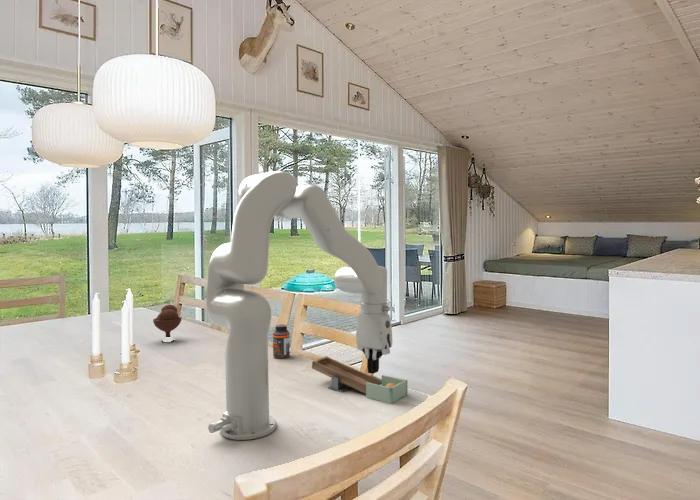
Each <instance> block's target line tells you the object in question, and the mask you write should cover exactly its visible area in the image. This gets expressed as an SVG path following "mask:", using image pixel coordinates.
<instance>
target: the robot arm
mask: <svg viewBox="0 0 700 500" xmlns="http://www.w3.org/2000/svg"><path fill="white" fill-rule="evenodd" d="M238 196H239V199H240V200H239V203H238V204H237V206H236V209H235V212H234V216H233V220H232V228H231V237H230V242H227V243H222V244H221V245H219V246H218V247H217V248H216V249H215V250H214V251H213V252H212V255H211V256H210V259H209V262H208V270H207V283H206V285H207V287H206V312H207V315H208V318H209V319H210V321H211V322H212V323H213V324H214V325H215V326H218V327H220V328H223V329H226V330H229V332H228V337H227V341H226V344H225V352H224V359H225V360H224V361H225V363H224V364H225V366H224V367H225V399H226V400H225V401H226V404H225V405H226V411H224V412H223V413H222V417H221V418H220V419H219V421H214V422H212V423H209V424H208V426H207V429H208V432H209V434H210V433H211V434H214V433H217V432H218V431H219V433H220V435H222V436H223V437H225V438H227V439H230V440H237V441H247V440H255V439H258V438H262V437H266V436H267V435H269V434H270V433H272V432H274V430H275V429H276V427H277V420H276V418H275V417H274V416H272V415H270V391H269V390H270V387H269V386H270V384H269V382H270V381H269V335H270V327H271V324H272V323H271V321H272V309H271V308H272V307H271V305H270V302H269V301H268V299H267V298H266V297H265V296H263V295H262V294H261V293H258V292H255V291H252V290H246V289H245V285H247V286H253V285H257V284H259V283H261V282H262V281H264V279H265V278H266V276H267V273H268V268H269V252H270V235H271V228H272V223H273V221H274V219H275V217H280V218H284V219H301V220H302V222H303V224H304V226H305V227H306V229H307V231H308V232H309V234H310V236H311V237H312V239H313V241H314V243H315V244H316V246H317V248H319V249H320V250H322V251H323V252H324V253H327V254H329V255H331V256H333V257H335V258H337V259H339V260H341V261H342V262H343V263H345V264H346V265H345V266H342V267H340V268H339V269H337V270H336V272H335V274H334V277H333V281H334V286H335V287H336V288H337V289H338V290H339V291H341V292H344V293H350V294H357V295H360V312H358V316H357V317H358V318H357V322H356V331H355V333H356V335H355V343H356V348H357V350H359V351H361V352H363V354H364V355H365V359H367V361H366V362H367V363H366V364H367V365H366V366H367V374H371V375H372V374H376V373H378V372H379V369H380V359H381V358H382V356H384V355H385V356H387V355H389V354H391V350H390V349H391V348H392V347H393V328H392V321H391V320H392V319H391V316H390V314H389V313H388V312H390V311H391V306H388V270H387V268H386V267H385V266H383V265H378V263H377V261H376V258H375V257H374V256H373V254H372V252H370V250H368V248H367V246H365V245H364V244H363V243H361V242H360V241H359V240H358V239H357V238H355V236H353V235H352V234H351V233H350V232H348V231H347V230H346V229H345V227H344V225H343V223H342V221H341V219H340V218H339V216H338V214H337V212H336V210H335V208H334V206H333V204H332V202H331V201H330V199H329V197H328V195H327V194H326V192H325V191H324V190H323V188H322V187H321V186H318V185H317V184H302V185H301V184H300V185H298V184H297V180H296V178H295V177H294V175H292V174H291V173H290V172H287V171H285V170H283V171H282V170H275V171H273V170H272V171H267V172H263V173H257V174H252V175H249V176H247V177H245V178H244V179H243V180H242V181H241V182H240V185H239V188H238Z"/></svg>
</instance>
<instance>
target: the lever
mask: <svg viewBox="0 0 700 500" xmlns="http://www.w3.org/2000/svg"><path fill="white" fill-rule="evenodd" d="M311 369H312V370H314V371H316V372H319V373H321V374H323V375H325V376H327V377H329V378H331V377H333V376H335V377H339V378H340V382H342V383H344V384H346V385H348V386H350V387H352V388H351V389H355V390H357V391H359V392H360V393H363V394H365V395H366V383H367V382H368V383H373V384H377V385H381V386H382V378H379V377H377V376H375V375H372V374H371V375H369V374H368V373H367V374H366V373H364V372H363V371H360V370H358V369H355V367H351V366H349V365H347V364H344V363H342V362H339V361H338V360H336V359H333V358H331V357H328V356H327V355H326V356H323V357H321V358H317V359H315V360H313V361H312V363H311Z"/></svg>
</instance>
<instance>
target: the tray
mask: <svg viewBox="0 0 700 500" xmlns="http://www.w3.org/2000/svg"><path fill="white" fill-rule="evenodd" d="M381 379H382V384H381V385H377V384H373V383H368V382H367V383H366V394H365V398H366V397H368V398H367V399H370V398H372V399H371V400H374V399H375V401H378V400H379V401H378V402H382V403H387V404H394V403H396V402H398V401H399V400H401V399H403V398H405V397H406V396H408V395H407V394H408V380H407V379H403V378H399V377H394V376H393V377H392V376H388V375H381ZM389 383H394V384H395V386H393V387H391V388H390V387H386V385H387V384H389ZM404 396H405V397H404Z"/></svg>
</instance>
